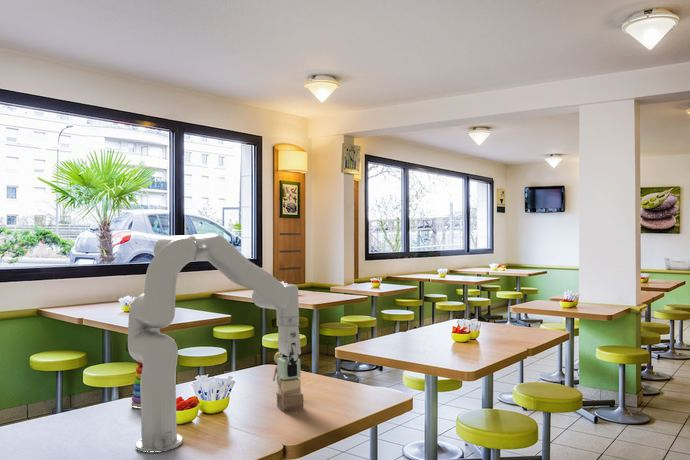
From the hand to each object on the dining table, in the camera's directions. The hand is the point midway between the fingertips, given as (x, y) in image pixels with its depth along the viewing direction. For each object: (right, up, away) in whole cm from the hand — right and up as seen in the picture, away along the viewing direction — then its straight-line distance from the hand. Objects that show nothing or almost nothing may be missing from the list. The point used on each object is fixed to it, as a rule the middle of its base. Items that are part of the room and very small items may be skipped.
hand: (288, 373), depth 188 cm
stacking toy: (-51, -13, +6) cm, 53 cm away
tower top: (0, -7, 0) cm, 7 cm away
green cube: (0, -1, 0) cm, 1 cm away
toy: (-5, -12, +20) cm, 24 cm away
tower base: (0, -12, 0) cm, 12 cm away
